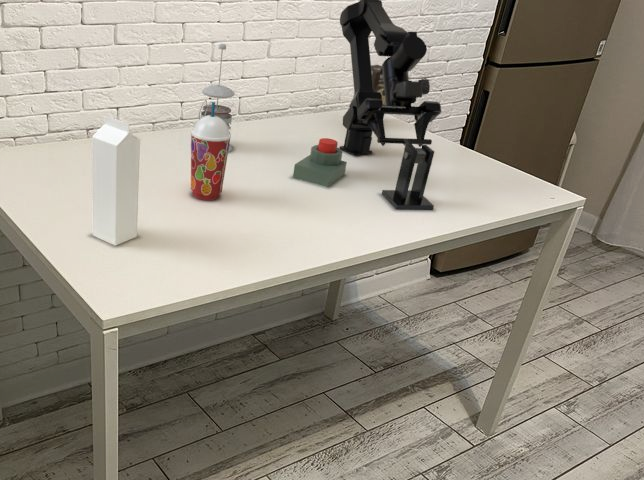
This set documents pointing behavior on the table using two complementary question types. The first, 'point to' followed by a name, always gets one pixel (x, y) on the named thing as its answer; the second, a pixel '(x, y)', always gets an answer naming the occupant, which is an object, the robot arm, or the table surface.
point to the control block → (320, 167)
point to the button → (327, 145)
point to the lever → (420, 154)
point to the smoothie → (209, 156)
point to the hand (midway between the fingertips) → (402, 145)
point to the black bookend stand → (414, 197)
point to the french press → (217, 92)
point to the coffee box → (377, 81)
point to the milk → (115, 182)
